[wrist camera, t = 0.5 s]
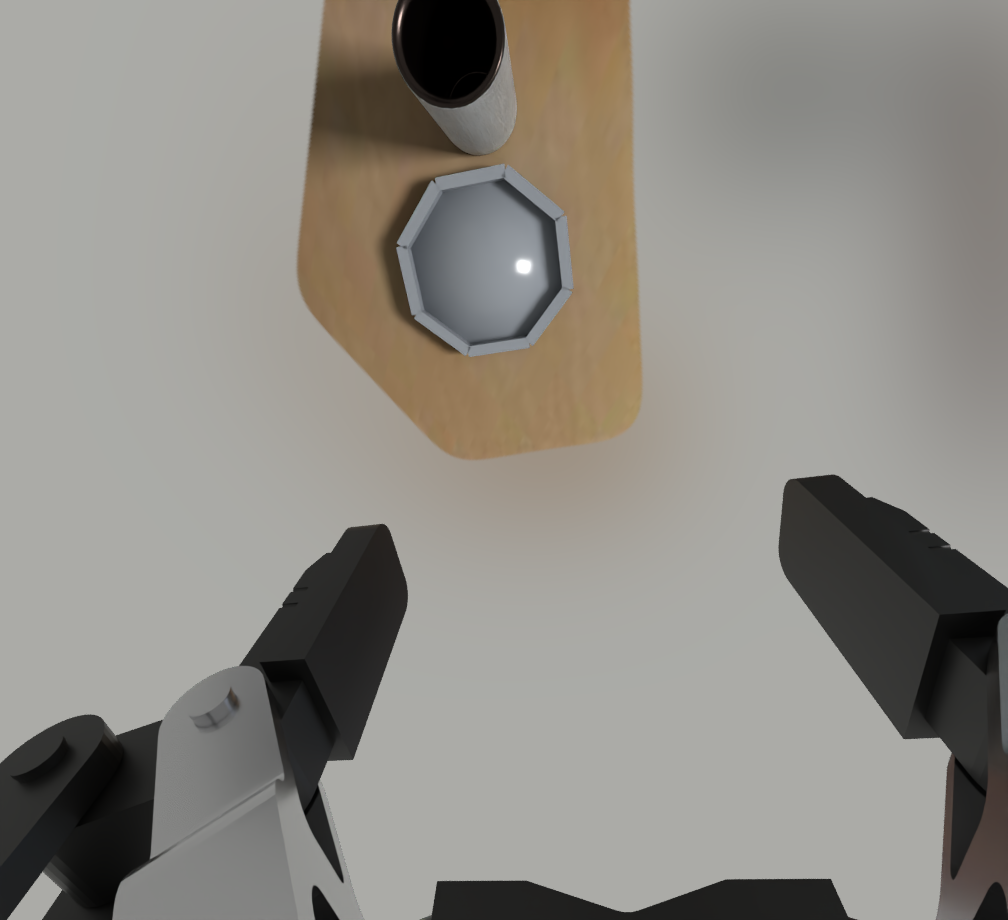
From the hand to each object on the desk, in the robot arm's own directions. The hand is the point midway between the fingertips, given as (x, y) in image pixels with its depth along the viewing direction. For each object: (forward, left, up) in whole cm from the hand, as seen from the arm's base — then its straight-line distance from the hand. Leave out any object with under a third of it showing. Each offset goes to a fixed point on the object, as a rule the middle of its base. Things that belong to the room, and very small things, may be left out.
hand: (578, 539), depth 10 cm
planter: (-14, -3, -25) cm, 29 cm away
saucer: (-5, -4, -25) cm, 26 cm away
